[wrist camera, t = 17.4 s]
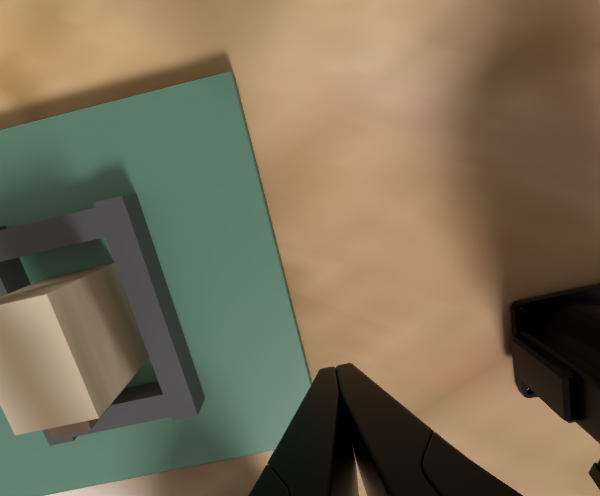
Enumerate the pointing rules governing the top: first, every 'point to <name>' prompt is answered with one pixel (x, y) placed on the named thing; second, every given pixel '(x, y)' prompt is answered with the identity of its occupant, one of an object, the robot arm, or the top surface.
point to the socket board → (156, 280)
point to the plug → (67, 350)
